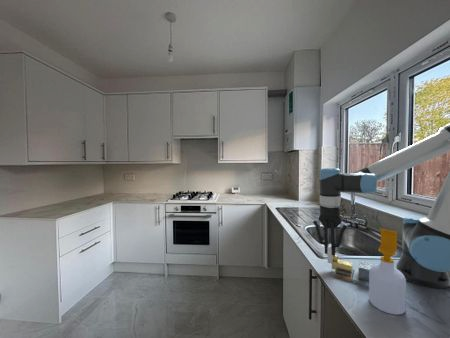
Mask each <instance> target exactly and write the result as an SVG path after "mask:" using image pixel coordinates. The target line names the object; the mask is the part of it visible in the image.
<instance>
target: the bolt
mask: <svg viewBox="0 0 450 338" xmlns="http://www.w3.org/2000/svg"><path fill="white" fill-rule="evenodd" d="M352 267H353V262H349V261H345V260H340V259H339V255H338V254H336V253H335V255H333V260H332V264H331V270H334V271H335V270H340V271H344V272H347V273H351V274H352Z"/></svg>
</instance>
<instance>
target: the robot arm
mask: <svg viewBox="0 0 450 338" xmlns="http://www.w3.org/2000/svg"><path fill="white" fill-rule="evenodd" d="M448 152H450V123H448V124H446V125H444V126H442V127H440V128H439V129H438V131H437V132H436V133H434V134H432V135H430V136H428V137H426V138H424V139H422V140H419V141H417V142H415V143H413V144H412V145H409V146H407V147H405V148H403V149H401V150H399V151H396V152H394V153H393V154H391V155H389V156H387V157H385V158H383V159H380V160H377V161H376V162H374V163H372V164H370V165H368V166H366V167H363V168H361V169H360V170H357V171H355V172H353V173H351V172H350V173H345V172H341V170H340V168H336V167H335V168H333V167H332V168H330V167H329V168H328V167H327V168H320V171H319V178H318V179H319V182H318V183H319V216H318V218H317V219H314V220H313V221H312V222H313V223H312V224H313V225H314V227H315V229H316V234H317V237H318V241H319V244H320V245H323V246H324V254H326V256H327V263H328V264H331V265H332V260H333V255H335V254H336V248H340V246H341V244H342V241H343V238H344V234H345V231H346V230H347V228H348V226H349V225H348V223H345V222H343V220H342V218H341V207H340V206H341V193H353V194H354V193H355V194H364V195H365V194H375V193H377V190H378V189H377V188H378V187H377V186H378V185H377V184H378V183H379V182H382V181H384V180H386V179H389V178H390V177H393V176H395V175H398V174H400V173H402V172H404V171H407V170H410V169H411V168H414V167H416V166H418V165H421V164H423V163H426V162H428V161H430V160H433V159H435V158H437V157H439V156H442V155H445V154H446V153H448ZM321 225H322V226H323V231H324V232H323V231H322V228H321ZM339 225H340V231H339V234H338V237H337V238H338V239H337V238H336V229H337V228H338V226H339ZM401 225H402V240H401V241H402V242H401V243H402V244H401V245H402V247H401V248H402V249H401V251H402V252H401V255H400V257H399V259H398V262H397V263H396V267H395V268H396V269H398V270H399V271H400V272H401V273H402V274H403V275H404V276H405V279H406V281H408V282H411V283H414V284H416V285H420V286H423V287H427V288H432V289H439V290H441V289H448V288H450V276H449V273H448V272H450V171H449V172H448V174H447V176H446V178H445V180H444V181H443V184H442V186H441V188H440V190H439V192H438V194H437V196H436V198H435V200H434V202H433V204H432V206H431V208H430V210H429V211H428V214H427V216H425V217H417V216H416V217H415V216H405V217H404V218H403V219H402V223H401ZM329 232H330V233H329ZM323 234H324V235H323ZM329 234H330V235H329ZM330 236H331V237H330ZM329 237H330V238H331V239H330V238H329ZM329 239H330V240H331V241H329ZM336 239H337V241H336ZM330 243H331V244H330Z"/></svg>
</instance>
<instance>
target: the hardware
mask: <svg viewBox="0 0 450 338" xmlns="http://www.w3.org/2000/svg"><path fill="white" fill-rule="evenodd" d="M374 265H377V263H375V264H374ZM372 266H373V262H369V261H365V260H359V264H358V270H359V280H363V281H367V282H369V271H370V269H371V267H372ZM353 269H354V268H353V266H352V270H353ZM334 271H335V272H334V274H335V273H337V274H341V275H344V276H348V277H351V273H347V272H344V271H340V270H335V269H334Z"/></svg>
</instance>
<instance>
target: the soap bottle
mask: <svg viewBox="0 0 450 338" xmlns="http://www.w3.org/2000/svg"><path fill="white" fill-rule="evenodd" d="M378 230H379V231H380V246H379V248H377V249H378V250H377V251H378V252H380V253H381V254H382V255H383V256H380V262H379V263H378V264H377V263H376V264H377V265H375V264H374V265H372V267H371V269H370V271H369V287H368V299H369V302H370V303H371V304H372V306H373V307H375V309H378V310H380V311H382V312H384V313H387V314H390V315H391V314H392V315H398V316H399V315H403V314H405V311H406V304H407V303H406V301H407V300H406V298H407V297H406V292H407V280H406V279H405V276H404V275H403V274H402V273H401V272H400V271H399V270H398V269H396V267H395V265H394V264H395V261H394V259H393V258H391V257H392V256H395V255H396V252H397V250H398V249H397V247H398V232H397V231H396V230H390V229H384V228H381V227H380V228H378Z"/></svg>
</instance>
